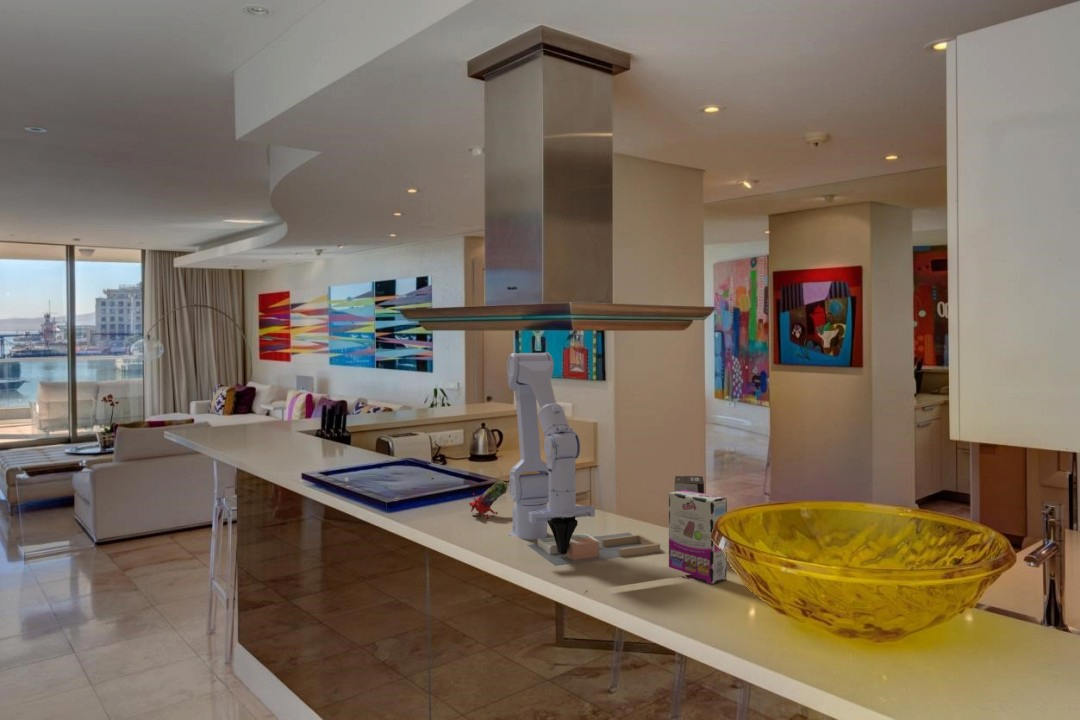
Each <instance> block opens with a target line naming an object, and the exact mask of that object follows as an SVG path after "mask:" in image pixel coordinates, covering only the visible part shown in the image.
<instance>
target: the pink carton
mask: <svg viewBox="0 0 1080 720" xmlns="http://www.w3.org/2000/svg"><path fill="white" fill-rule="evenodd" d="M565 555H567V556H568V557H570V558H571V559H573V560H576V559H583V558H591V557H599V542H597V541H595V540H593V539H592V538H590V537H581V538H573V539H570V542H569V546H568V551H567V554H565Z"/></svg>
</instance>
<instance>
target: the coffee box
mask: <svg viewBox="0 0 1080 720" xmlns="http://www.w3.org/2000/svg"><path fill="white" fill-rule="evenodd" d="M679 490H687V491H692V492H698V493H703V494H705V481H704V477H703V476H700V475H675V477H674V492H675V491H679Z"/></svg>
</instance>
